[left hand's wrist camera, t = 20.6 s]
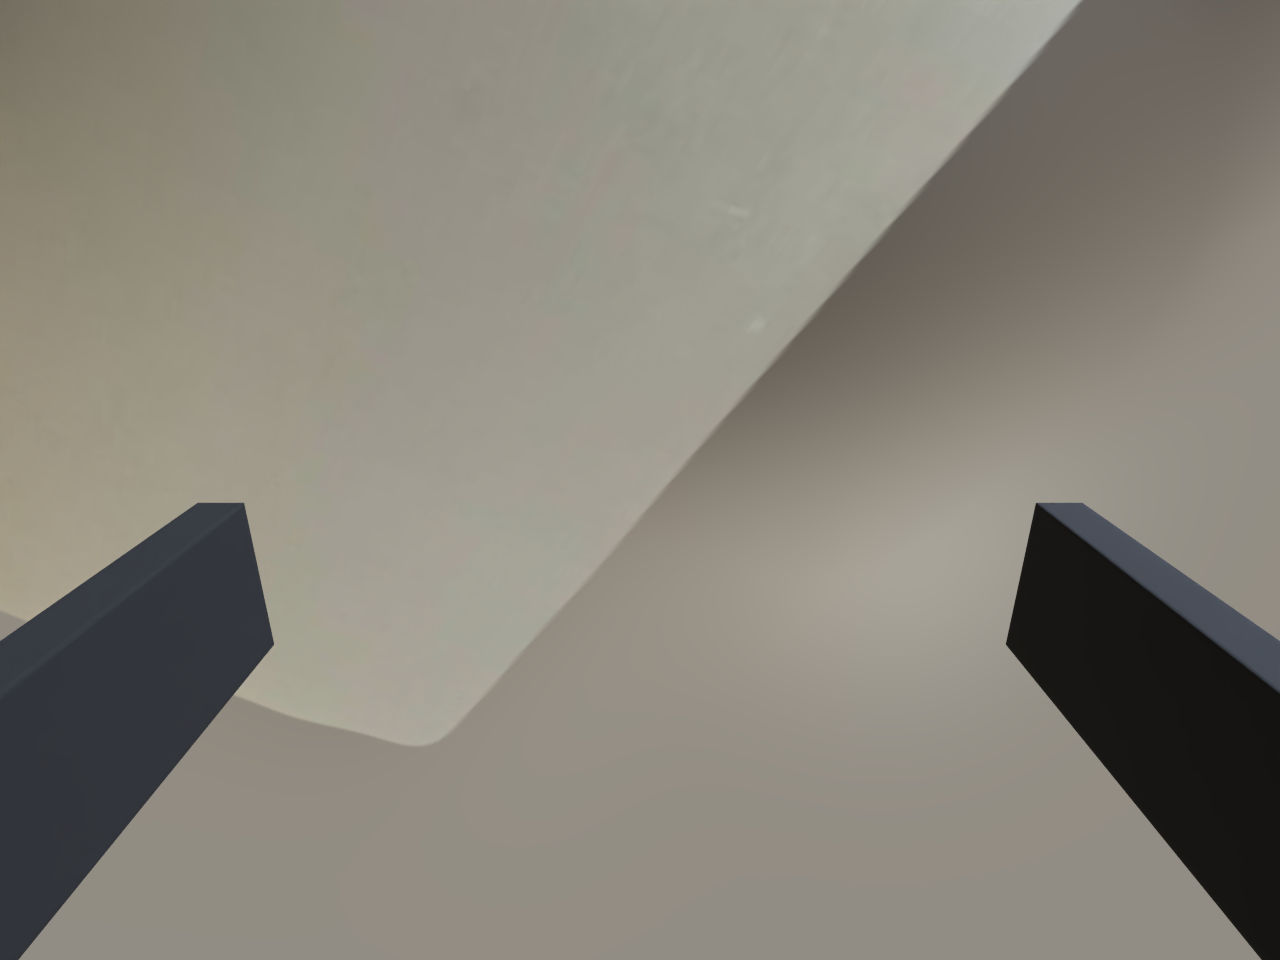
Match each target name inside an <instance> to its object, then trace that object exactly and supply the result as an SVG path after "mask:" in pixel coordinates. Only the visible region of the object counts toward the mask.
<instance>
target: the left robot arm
mask: <svg viewBox="0 0 1280 960" xmlns="http://www.w3.org/2000/svg"><path fill="white" fill-rule="evenodd" d="M273 645H274V642H273V637H272V632H271V628H270V623H269V618H268V614H267V609H266V604H265V599H264V595H263V590H262V585H261V581H260V576H259V571H258V567H257V562H256V557H255V552H254V548H253V543H252V538H251V534H250V529H249V524H248V520H247V515H246V510H245V506H244V503H197V504H196V505H194V506H193V507H191V508H190V509H188V510H187V511H186V512H184V513H183V514H181V515H180V516H178V517H177V518H176V519H174V520H173V521H171V522H170V523H168V524H167V525H166V526H164V527H163V528H161V529H160V530H158V531H157V532H156V533H154V534H153V535H151V536H150V537H148V538H147V539H146V540H144V541H143V542H141V543H140V544H138V545H137V546H136V547H134V548H133V549H131V550H130V551H128V552H127V553H126V554H124V555H123V556H121V557H120V558H118V559H117V560H116V561H114V562H113V563H111V564H110V565H108V566H107V567H106V568H104V569H103V570H101V571H100V572H98V573H97V574H96V575H94V576H93V577H91V578H90V579H88V580H87V581H86V582H84V583H83V584H81V585H80V586H78V587H77V588H76V589H74V590H73V591H71V592H70V593H68V594H67V595H66V596H64V597H63V598H61V599H60V600H58V601H57V602H56V603H54V604H53V605H51V606H50V607H48V608H47V609H46V610H44V611H43V612H41V613H40V614H38V615H37V616H36V617H34V618H33V619H31V620H30V621H28V622H27V623H26V624H24V625H23V626H21V627H20V628H18V629H17V630H16V631H14V632H13V633H11V634H10V635H8V636H7V637H6V638H4V639H3V640H1V641H0V960H18V959H19V958H20V957H21V956H22V955H23V953H24V952H25V951H26V950H27V948H28V947H29V946H30V945H31V943H32V942H33V941H34V940H35V938H36V937H37V936H38V935H39V934H40V932H41V931H42V930H43V929H44V927H45V926H46V925H47V924H48V922H49V921H50V920H51V919H52V918H53V916H54V915H55V914H56V913H57V911H58V910H59V909H60V908H61V906H62V905H63V904H64V903H65V902H66V900H67V899H68V898H69V897H70V895H71V894H72V893H73V892H74V890H75V889H76V888H77V887H78V886H79V884H80V883H81V882H82V881H83V879H84V878H85V877H86V876H87V874H88V873H89V872H90V871H91V869H92V868H93V867H94V866H95V865H96V863H97V862H98V861H99V860H100V858H101V857H102V856H103V855H104V853H105V852H106V851H107V850H108V849H109V847H110V846H111V845H112V844H113V842H114V841H115V840H116V839H117V837H118V836H119V835H120V834H121V833H122V831H123V830H124V829H125V828H126V826H127V825H128V824H129V823H130V821H131V820H132V819H133V818H134V816H135V815H136V814H137V813H138V812H139V810H140V809H141V808H142V807H143V805H144V804H145V803H146V802H147V800H148V799H149V798H150V797H151V796H152V794H153V793H154V792H155V791H156V789H157V788H158V787H159V786H160V784H161V783H162V782H163V781H164V780H165V778H166V777H167V776H168V774H169V773H170V772H171V771H172V770H173V768H174V767H175V766H176V765H177V763H178V762H179V761H180V760H181V759H182V757H183V756H184V755H185V754H186V752H187V751H188V750H189V749H190V747H191V746H192V745H193V744H194V742H195V741H196V740H197V739H198V738H199V736H200V735H201V734H202V733H203V731H204V730H205V729H206V728H207V727H208V725H209V724H210V723H211V722H212V720H213V719H214V718H215V717H216V715H217V714H218V713H219V712H220V710H221V709H222V708H223V707H224V706H225V704H226V703H227V702H228V701H229V699H230V698H231V697H232V696H233V694H234V693H235V692H236V691H237V690H238V688H239V687H240V686H241V685H242V683H243V682H244V681H245V680H246V678H247V677H248V676H249V675H250V673H251V672H252V671H253V670H254V669H255V667H256V666H257V665H258V664H259V662H260V661H261V660H262V659H263V657H264V656H265V655H266V654H267V653H268V651H269V650H270V649H271V648H272V646H273ZM1006 645H1007V646H1008V648H1009V649H1010V650H1011V651H1012V653H1013V654H1014V655H1015V656H1016V657H1017V659H1018V660H1019V661H1020V662H1021V664H1022V665H1023V666H1024V667H1025V669H1026V670H1027V671H1028V672H1029V673H1030V675H1031V676H1032V677H1033V678H1034V680H1035V681H1036V682H1037V683H1038V685H1039V686H1040V687H1041V688H1042V689H1043V691H1044V692H1045V693H1046V694H1047V696H1048V697H1049V698H1050V699H1051V701H1052V702H1053V703H1054V704H1055V705H1056V707H1057V708H1058V709H1059V710H1060V712H1061V713H1062V714H1063V715H1064V717H1065V718H1066V719H1067V720H1068V722H1069V723H1070V724H1071V725H1072V726H1073V728H1074V729H1075V730H1076V731H1077V733H1078V734H1079V735H1080V736H1081V738H1082V739H1083V740H1084V741H1085V743H1086V744H1087V745H1088V746H1089V747H1090V749H1091V750H1092V751H1093V752H1094V754H1095V755H1096V756H1097V757H1098V759H1099V760H1100V761H1101V762H1102V763H1103V765H1104V766H1105V767H1106V768H1107V770H1108V771H1109V772H1110V773H1111V775H1112V776H1113V777H1114V778H1115V780H1116V781H1117V782H1118V783H1119V784H1120V786H1121V787H1122V788H1123V789H1124V791H1125V792H1126V793H1127V794H1128V796H1129V797H1130V798H1131V799H1132V800H1133V802H1134V803H1135V804H1136V805H1137V807H1138V808H1139V809H1140V810H1141V812H1142V813H1143V814H1144V815H1145V816H1146V818H1147V819H1148V820H1149V821H1150V823H1151V824H1152V825H1153V826H1154V828H1155V829H1156V830H1157V831H1158V833H1159V834H1160V835H1161V836H1162V837H1163V839H1164V840H1165V841H1166V842H1167V844H1168V845H1169V846H1170V847H1171V849H1172V850H1173V851H1174V852H1175V853H1176V855H1177V856H1178V857H1179V858H1180V860H1181V861H1182V862H1183V863H1184V865H1185V866H1186V867H1187V868H1188V869H1189V871H1190V872H1191V873H1192V874H1193V876H1194V877H1195V878H1196V879H1197V881H1198V882H1199V883H1200V884H1201V886H1202V887H1203V888H1204V889H1205V890H1206V892H1207V893H1208V894H1209V895H1210V897H1211V898H1212V899H1213V900H1214V901H1215V903H1216V904H1217V905H1218V906H1219V908H1220V909H1221V910H1222V911H1223V913H1224V914H1225V915H1226V916H1227V918H1228V919H1229V920H1230V921H1231V923H1232V924H1233V925H1234V926H1235V927H1236V929H1237V930H1238V931H1239V932H1240V933H1241V935H1242V936H1243V937H1244V939H1245V940H1246V941H1247V942H1248V943H1249V945H1250V946H1251V947H1252V948H1253V950H1254V951H1255V952H1256V953H1257V955H1258V956H1259V957H1260V958H1261V959H1262V960H1280V641H1279V640H1277V639H1276V638H1274V637H1273V636H1272V635H1270V634H1269V633H1267V632H1266V631H1264V630H1263V629H1262V628H1260V627H1259V626H1257V625H1256V624H1254V623H1253V622H1252V621H1250V620H1249V619H1247V618H1246V617H1244V616H1243V615H1242V614H1240V613H1239V612H1237V611H1236V610H1234V609H1233V608H1232V607H1230V606H1229V605H1227V604H1226V603H1224V602H1223V601H1222V600H1220V599H1219V598H1217V597H1216V596H1214V595H1213V594H1212V593H1210V592H1209V591H1207V590H1206V589H1204V588H1203V587H1202V586H1200V585H1199V584H1197V583H1196V582H1194V581H1193V580H1192V579H1190V578H1189V577H1187V576H1186V575H1184V574H1183V573H1182V572H1180V571H1179V570H1177V569H1176V568H1174V567H1173V566H1172V565H1170V564H1169V563H1167V562H1166V561H1164V560H1163V559H1162V558H1160V557H1159V556H1157V555H1156V554H1154V553H1153V552H1152V551H1150V550H1149V549H1147V548H1146V547H1144V546H1143V545H1142V544H1140V543H1139V542H1137V541H1136V540H1134V539H1133V538H1132V537H1130V536H1129V535H1127V534H1126V533H1124V532H1123V531H1122V530H1120V529H1119V528H1117V527H1116V526H1114V525H1113V524H1112V523H1110V522H1109V521H1107V520H1106V519H1104V518H1103V517H1102V516H1100V515H1099V514H1097V513H1096V512H1094V511H1093V510H1092V509H1090V508H1089V507H1087V506H1086V505H1084V504H1083V503H1036V506H1035V510H1034V515H1033V520H1032V524H1031V529H1030V534H1029V538H1028V543H1027V548H1026V553H1025V557H1024V562H1023V567H1022V571H1021V576H1020V581H1019V585H1018V590H1017V595H1016V599H1015V604H1014V609H1013V614H1012V618H1011V623H1010V628H1009V632H1008V637H1007V642H1006Z"/></svg>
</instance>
